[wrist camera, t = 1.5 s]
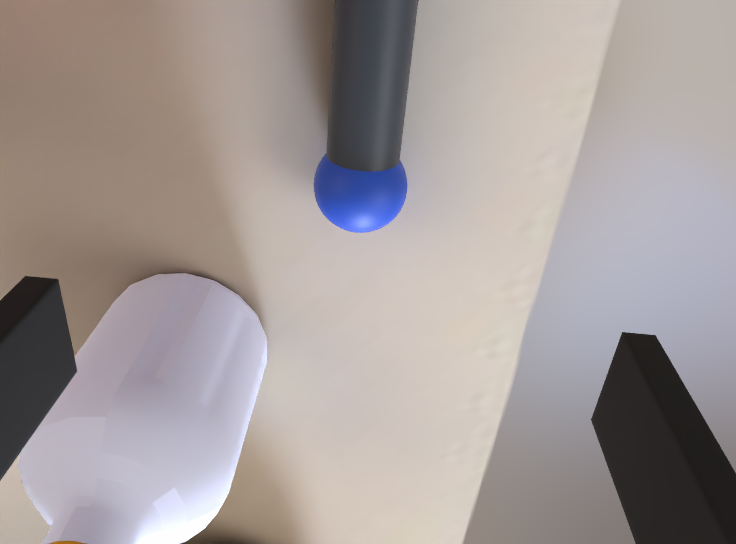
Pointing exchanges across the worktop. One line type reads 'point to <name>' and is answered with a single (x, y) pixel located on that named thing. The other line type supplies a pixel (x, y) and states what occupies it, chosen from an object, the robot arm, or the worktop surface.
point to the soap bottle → (149, 417)
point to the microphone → (366, 114)
